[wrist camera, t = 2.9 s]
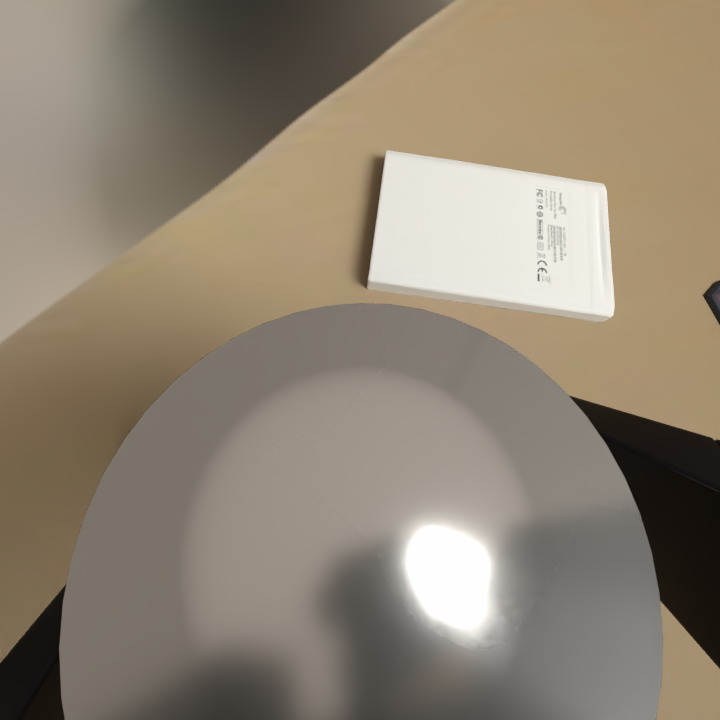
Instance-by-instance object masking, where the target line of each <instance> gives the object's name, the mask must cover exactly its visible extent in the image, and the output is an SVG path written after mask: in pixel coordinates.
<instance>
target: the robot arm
mask: <svg viewBox="0 0 720 720" xmlns="http://www.w3.org/2000/svg"><path fill="white" fill-rule="evenodd" d="M569 397H570V398H571V399H572V400H573V401H574V402H575V403H576V405H577V406H578V407H579V408H580V409H581V410H582V411H583V412H584V414H585V415H586V416H587V418H588V419H589V420H590V422H591V423H592V425H593V426H594V428H595V429H596V430H597V432H598V433H599V435H600V436H601V437H602V439H603V440H604V442H605V443H606V445H607V446H608V448H609V450H610V452H611V454H612V455H613V457H614V459H615V461H616V463H617V464H618V466H619V468H620V470H621V472H622V473H623V475H624V477H625V479H626V482H627V484H628V486H629V489H630V491H631V493H632V496H633V498H634V501H635V503H636V505H637V508H638V510H639V512H640V515H641V519H642V522H643V525H644V528H645V532H646V535H647V538H648V542H649V545H650V548H651V552H652V556H653V562H654V567H655V572H656V578H657V583H658V588H659V594H660V601H661V602H662V603H663V604H664V605H665V607H666V608H667V609H668V610H669V611H670V612H671V613H672V615H673V616H674V617H675V618H676V619H677V620H678V621H679V623H680V624H681V625H682V626H683V627H684V628H685V629H686V631H687V632H688V633H689V634H690V635H691V636H692V637H693V639H694V640H695V641H696V642H697V643H698V644H699V645H700V647H701V648H702V649H703V650H704V651H705V652H706V654H707V655H708V656H709V657H710V658H711V659H712V660H713V662H714V663H715V664H716V665H717V666H718V667H719V668H720V440H713V439H712V438H710V437H707V436H704V435H700V434H697V433H694V432H690V431H687V430H683V429H680V428H677V427H673V426H670V425H666V424H663V423H660V422H656V421H653V420H650V419H646V418H643V417H639V416H636V415H633V414H629V413H626V412H623V411H619V410H616V409H612V408H609V407H606V406H602V405H599V404H596V403H592V402H589V401H585V400H582V399H579V398H575V397H572V396H569ZM65 589H66V585H65V586H64V587H63V589H62V590H61V591H60V592H59V593H58V595H57V596H56V597H55V598H54V599H53V601H52V602H51V603H50V604H49V605H48V607H47V608H46V609H45V610H44V611H43V613H42V614H41V615H40V616H39V617H38V619H37V620H36V621H35V622H34V623H33V625H32V626H31V627H30V628H29V629H28V631H27V632H26V633H25V634H24V635H23V637H22V638H21V639H20V640H19V641H18V643H17V644H16V645H15V646H14V647H13V649H12V650H11V651H10V652H9V653H8V655H7V656H6V657H5V658H4V659H3V661H2V662H1V663H0V720H65V717H64V711H63V705H62V700H61V680H60V656H59V645H60V633H61V620H62V607H63V599H64V594H65Z"/></svg>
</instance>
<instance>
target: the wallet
mask: <svg viewBox="0 0 720 720" xmlns="http://www.w3.org/2000/svg"><path fill="white" fill-rule="evenodd" d="M704 297H705V299H706V301H707V303H708V304H709V306H710V308H711V310H712V311H713V313H714V315H715V317H716V318H717V320H718V322H719V324H720V281H719V282H716V283H714V284H713V285H712V287H711V288H710V289H709V290H708V291H707V292H706V294H705V295H704Z"/></svg>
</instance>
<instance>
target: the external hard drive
mask: <svg viewBox="0 0 720 720" xmlns="http://www.w3.org/2000/svg"><path fill="white" fill-rule="evenodd" d="M367 289H370V290H378V291H385V292H392V293H398V294H406V295H413V296H420V297H427V298H434V299H441V300H448V301H455V302H462V303H469V304H476V305H483V306H490V307H497V308H504V309H511V310H518V311H525V312H531V313H539V314H546V315H553V316H560V317H567V318H574V319H581V320H587V321H594V322H603V321H605V320H607V319H609V318H611V317H612V316H613V314H614V308H615V304H614V290H613V279H612V266H611V251H610V235H609V221H608V206H607V191H606V187H605V185H604V184H602V183H596V182H589V181H581V180H575V179H569V178H563V177H557V176H551V175H544V174H538V173H531V172H525V171H519V170H513V169H506V168H500V167H493V166H487V165H481V164H474V163H468V162H462V161H456V160H449V159H442V158H435V157H429V156H422V155H415V154H409V153H401V152H395V151H390V150H387V151H386V152H385V158H384V165H383V173H382V181H381V188H380V195H379V203H378V210H377V217H376V225H375V232H374V239H373V246H372V254H371V261H370V268H369V275H368V282H367Z"/></svg>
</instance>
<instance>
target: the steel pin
mask: <svg viewBox="0 0 720 720" xmlns="http://www.w3.org/2000/svg"><path fill="white" fill-rule="evenodd" d="M662 650H663V632H662V619H661V606H660V594H659V588H658V583H657V578H656V572H655V567H654V562H653V556H652V552H651V548H650V545H649V542H648V538H647V535H646V532H645V528H644V525H643V522H642V519H641V515H640V512H639V510H638V508H637V505H636V503H635V501H634V498H633V496H632V493H631V491H630V489H629V486H628V484H627V482H626V479H625V477H624V475H623V473H622V472H621V470H620V468H619V466H618V464H617V463H616V461H615V459H614V457H613V455H612V454H611V452H610V450H609V448H608V446H607V445H606V443H605V442H604V440H603V439H602V437H601V436H600V435H599V433H598V432H597V430H596V429H595V428H594V426H593V425H592V423H591V422H590V420H589V419H588V418H587V416H586V415H585V414H584V412H583V411H582V410H581V409H580V408H579V407H578V406H577V405H576V403H575V402H574V401H573V400H572V399H571V398H570V397H569V396H568V394H567V393H566V392H565V391H564V390H563V389H562V388H561V387H560V386H559V385H558V384H557V383H556V382H555V381H554V380H552V379H551V378H550V377H549V376H548V375H547V374H546V373H545V372H544V371H542V370H541V369H540V368H539V367H538V366H537V365H536V364H534V363H533V362H532V361H530V360H529V359H527V358H526V357H525V356H523V355H522V354H520V353H519V352H518V351H516V350H515V349H513V348H512V347H511V346H509V345H507V344H506V343H504V342H502V341H500V340H498V339H497V338H495V337H493V336H491V335H489V334H488V333H486V332H484V331H482V330H480V329H478V328H475V327H473V326H470V325H468V324H466V323H463V322H461V321H458V320H456V319H453V318H451V317H447V316H444V315H440V314H437V313H433V312H429V311H426V310H422V309H417V308H411V307H404V306H397V305H391V304H365V303H355V304H344V305H333V306H324V307H320V308H315V309H310V310H306V311H301V312H296V313H293V314H290V315H287V316H284V317H281V318H278V319H275V320H272V321H269V322H267V323H264V324H261V325H259V326H257V327H255V328H253V329H251V330H249V331H247V332H245V333H243V334H241V335H239V336H237V337H235V338H233V339H231V340H229V341H228V342H226V343H225V344H223V345H222V346H220V347H218V348H217V349H215V350H214V351H212V352H211V353H209V354H208V355H206V356H204V357H203V358H202V359H200V360H199V361H198V362H197V363H196V364H194V365H193V366H192V367H191V368H189V369H188V370H187V371H186V372H185V373H183V374H182V375H181V376H180V377H179V378H177V379H176V380H175V381H174V382H173V383H172V384H171V385H170V386H169V387H168V388H167V389H166V390H165V391H164V392H163V393H162V394H161V395H160V396H159V397H158V398H157V399H156V401H155V402H154V403H153V404H152V405H151V406H150V407H149V408H148V409H147V410H146V412H145V413H144V414H143V416H142V417H141V418H140V420H139V421H138V422H137V423H136V425H135V426H134V427H133V429H132V430H131V431H130V433H129V434H128V435H127V436H126V438H125V439H124V441H123V442H122V444H121V446H120V447H119V449H118V451H117V452H116V454H115V456H114V457H113V459H112V461H111V462H110V464H109V466H108V468H107V469H106V471H105V473H104V474H103V476H102V479H101V481H100V483H99V485H98V487H97V490H96V492H95V494H94V496H93V498H92V501H91V503H90V505H89V507H88V509H87V512H86V514H85V517H84V520H83V523H82V526H81V529H80V533H79V536H78V539H77V542H76V545H75V548H74V551H73V554H72V558H71V563H70V568H69V573H68V579H67V584H66V589H65V594H64V599H63V607H62V620H61V633H60V645H59V656H60V680H61V700H62V705H63V711H64V717H65V720H656V716H657V709H658V702H659V695H660V689H661V680H662Z"/></svg>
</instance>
